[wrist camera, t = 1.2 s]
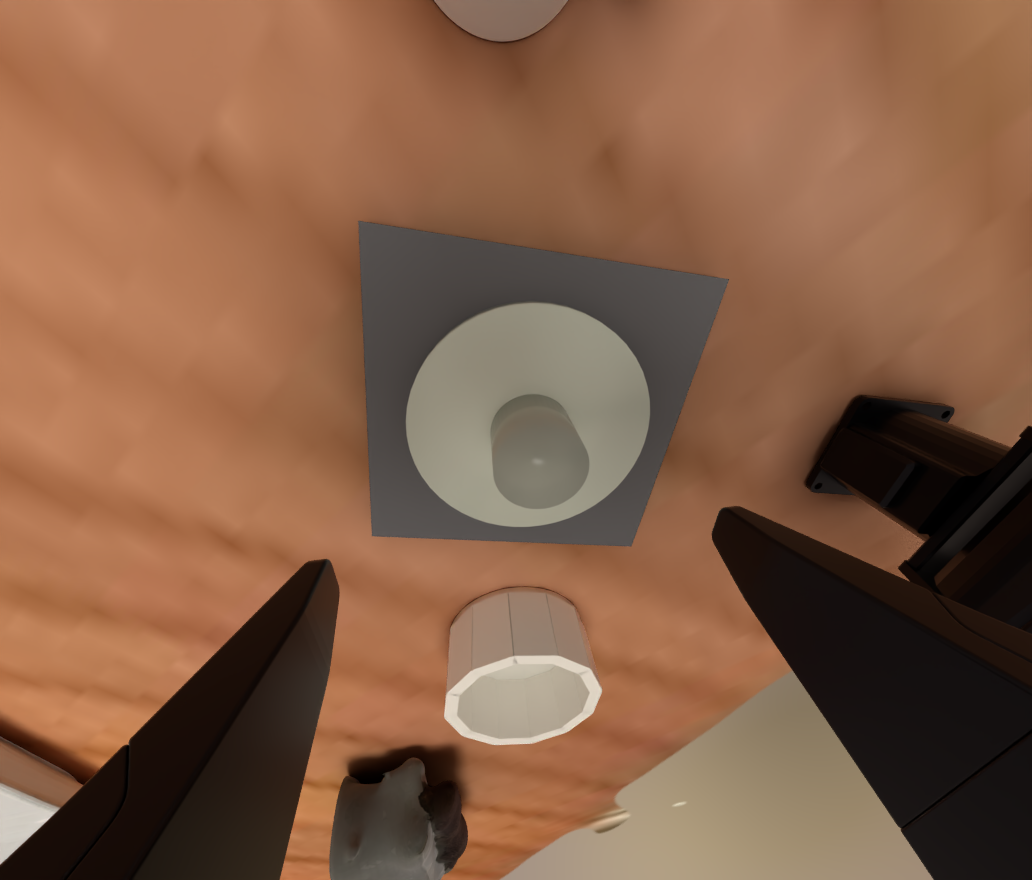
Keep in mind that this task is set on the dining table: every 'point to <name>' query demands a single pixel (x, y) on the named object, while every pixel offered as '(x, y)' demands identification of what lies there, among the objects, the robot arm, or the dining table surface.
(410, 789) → the rock
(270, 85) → the dining table surface
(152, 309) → the dining table surface
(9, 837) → the square plate
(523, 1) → the mug
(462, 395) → the lid
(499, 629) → the bowl
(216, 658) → the robot arm
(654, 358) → the mat
